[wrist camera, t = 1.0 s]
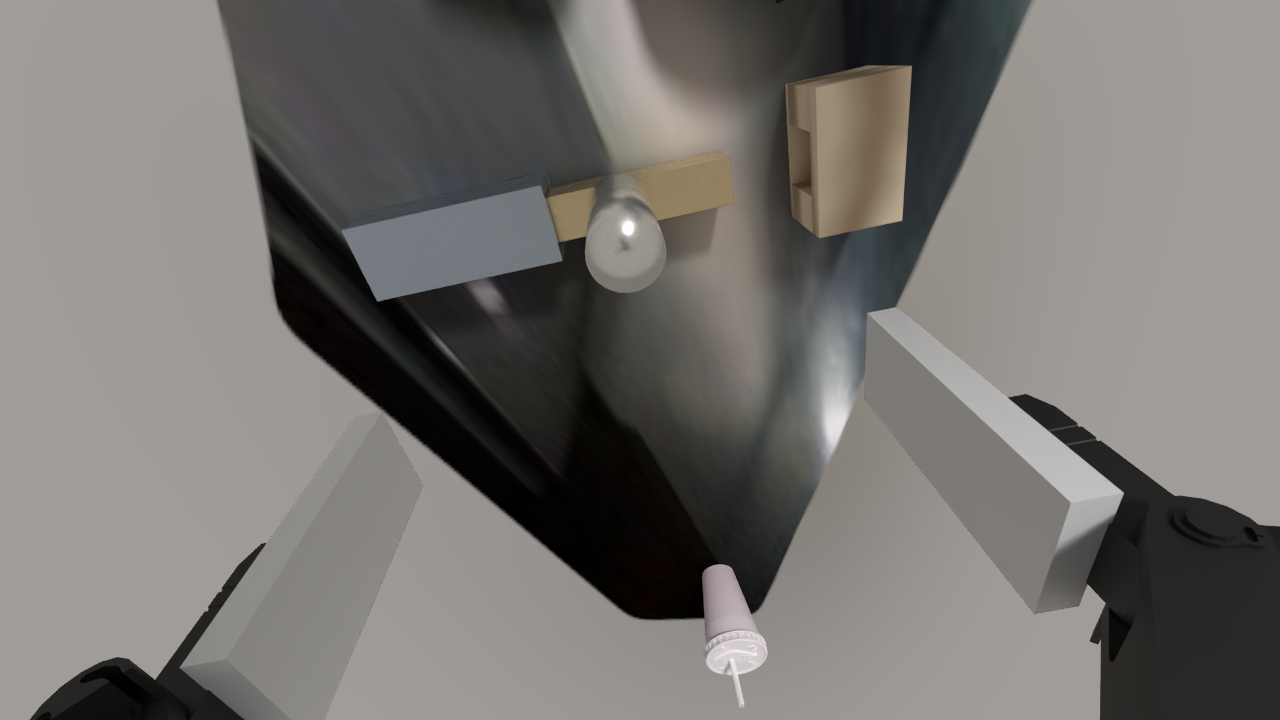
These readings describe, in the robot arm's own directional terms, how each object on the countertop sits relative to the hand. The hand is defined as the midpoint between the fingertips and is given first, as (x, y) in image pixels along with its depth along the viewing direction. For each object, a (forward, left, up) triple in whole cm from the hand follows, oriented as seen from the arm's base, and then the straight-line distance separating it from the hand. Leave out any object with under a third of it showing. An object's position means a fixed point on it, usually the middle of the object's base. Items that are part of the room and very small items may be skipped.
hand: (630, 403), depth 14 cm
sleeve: (+9, -6, -27) cm, 29 cm away
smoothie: (+24, +38, -27) cm, 52 cm away
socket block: (-13, +9, -27) cm, 31 cm away
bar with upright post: (+3, -2, -26) cm, 26 cm away
